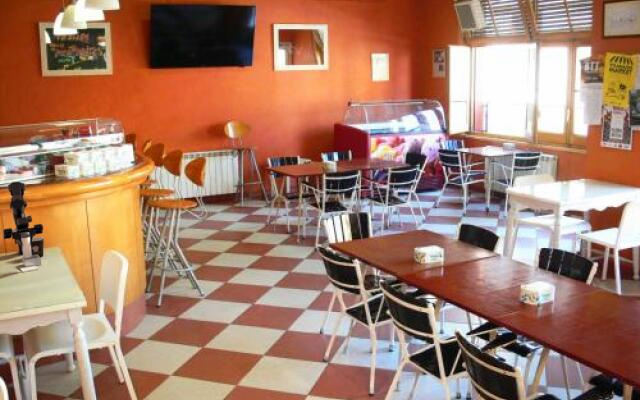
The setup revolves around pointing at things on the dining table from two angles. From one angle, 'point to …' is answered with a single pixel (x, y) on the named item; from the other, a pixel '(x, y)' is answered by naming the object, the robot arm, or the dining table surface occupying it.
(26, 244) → the salt shaker
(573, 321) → the dining table surface
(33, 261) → the motor housing
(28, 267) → the pad
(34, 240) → the coffee mug
